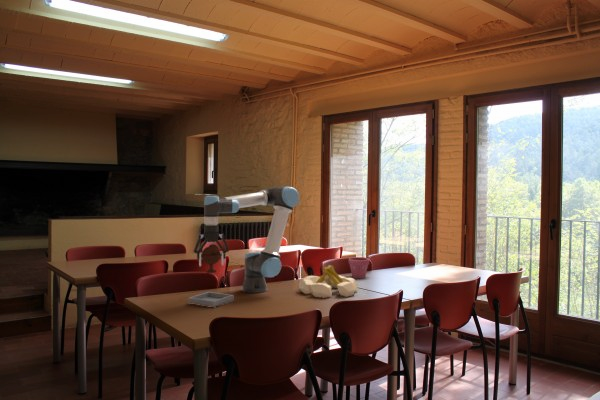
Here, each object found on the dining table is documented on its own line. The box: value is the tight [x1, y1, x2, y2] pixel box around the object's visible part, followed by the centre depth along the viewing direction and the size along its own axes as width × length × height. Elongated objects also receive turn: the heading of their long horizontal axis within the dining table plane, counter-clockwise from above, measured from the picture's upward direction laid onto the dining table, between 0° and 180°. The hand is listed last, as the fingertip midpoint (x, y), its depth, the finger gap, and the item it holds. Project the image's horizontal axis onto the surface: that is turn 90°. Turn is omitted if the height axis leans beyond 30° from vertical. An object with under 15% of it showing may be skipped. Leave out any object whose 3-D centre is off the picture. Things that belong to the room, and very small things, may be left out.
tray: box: [187, 291, 235, 307], centre depth 266 cm, size 17×17×4 cm
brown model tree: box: [201, 243, 222, 274], centre depth 265 cm, size 11×11×15 cm
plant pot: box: [348, 257, 370, 279], centre depth 345 cm, size 14×14×13 cm
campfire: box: [298, 264, 359, 299], centre depth 296 cm, size 35×34×17 cm
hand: (211, 265), depth 265 cm, fingers closed on brown model tree, 11 cm apart
